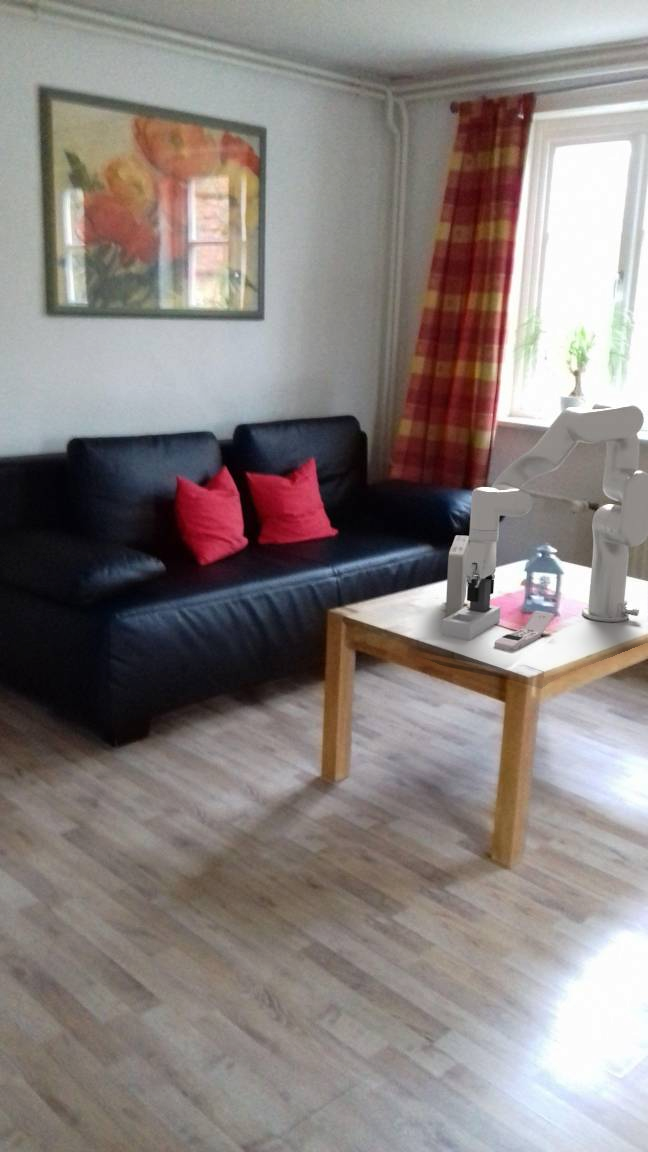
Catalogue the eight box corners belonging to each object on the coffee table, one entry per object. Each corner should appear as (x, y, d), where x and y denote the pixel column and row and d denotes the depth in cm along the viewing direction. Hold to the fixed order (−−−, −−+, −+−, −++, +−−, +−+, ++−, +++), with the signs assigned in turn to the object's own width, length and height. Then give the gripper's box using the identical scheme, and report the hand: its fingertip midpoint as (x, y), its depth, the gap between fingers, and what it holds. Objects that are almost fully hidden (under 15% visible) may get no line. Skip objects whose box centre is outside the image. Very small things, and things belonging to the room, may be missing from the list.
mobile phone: (556, 613, 270) (511, 635, 251) (554, 634, 271) (509, 658, 252) (535, 609, 273) (489, 630, 254) (533, 630, 275) (488, 653, 256)
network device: (467, 627, 275) (471, 555, 270) (434, 625, 277) (438, 553, 272) (473, 602, 299) (477, 535, 294) (443, 600, 301) (446, 533, 296)
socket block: (499, 624, 278) (500, 606, 277) (469, 643, 262) (470, 624, 260) (472, 619, 282) (473, 601, 281) (441, 638, 266) (441, 619, 264)
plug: (488, 622, 276) (491, 579, 273) (482, 626, 273) (485, 582, 270) (473, 619, 279) (475, 577, 276) (466, 623, 276) (469, 580, 272)
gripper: (483, 527, 279) (480, 588, 283) (457, 538, 264) (453, 602, 269) (509, 530, 275) (505, 592, 279) (484, 542, 261) (480, 606, 265)
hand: (480, 597), depth 274 cm, fingers open, 9 cm apart
